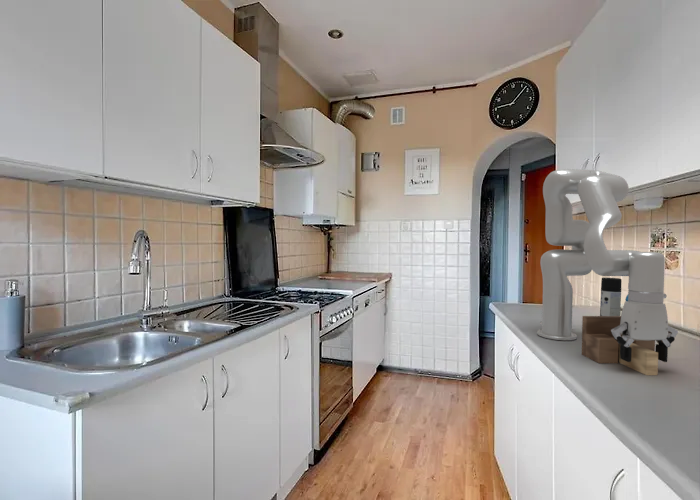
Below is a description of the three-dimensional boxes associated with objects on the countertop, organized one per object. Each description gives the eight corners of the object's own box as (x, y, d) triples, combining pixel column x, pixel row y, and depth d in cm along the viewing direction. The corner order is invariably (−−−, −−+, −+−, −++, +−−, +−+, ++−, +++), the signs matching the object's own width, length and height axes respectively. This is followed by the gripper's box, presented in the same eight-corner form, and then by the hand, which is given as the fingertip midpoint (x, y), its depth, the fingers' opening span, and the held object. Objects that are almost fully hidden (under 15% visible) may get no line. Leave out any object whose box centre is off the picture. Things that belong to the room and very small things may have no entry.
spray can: (600, 325, 153) (601, 276, 153) (620, 328, 149) (622, 278, 148) (598, 328, 148) (600, 278, 147) (619, 331, 144) (621, 279, 143)
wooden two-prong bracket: (581, 354, 115) (582, 316, 115) (633, 354, 116) (634, 316, 115) (598, 363, 107) (600, 322, 107) (654, 363, 108) (655, 322, 107)
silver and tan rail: (609, 357, 112) (609, 338, 112) (618, 357, 112) (619, 338, 112) (646, 375, 98) (646, 352, 98) (657, 375, 98) (658, 352, 98)
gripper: (665, 295, 105) (663, 356, 105) (603, 295, 104) (602, 355, 105) (690, 300, 97) (687, 365, 98) (623, 300, 97) (621, 365, 98)
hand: (643, 360), depth 101 cm, fingers open, 9 cm apart
